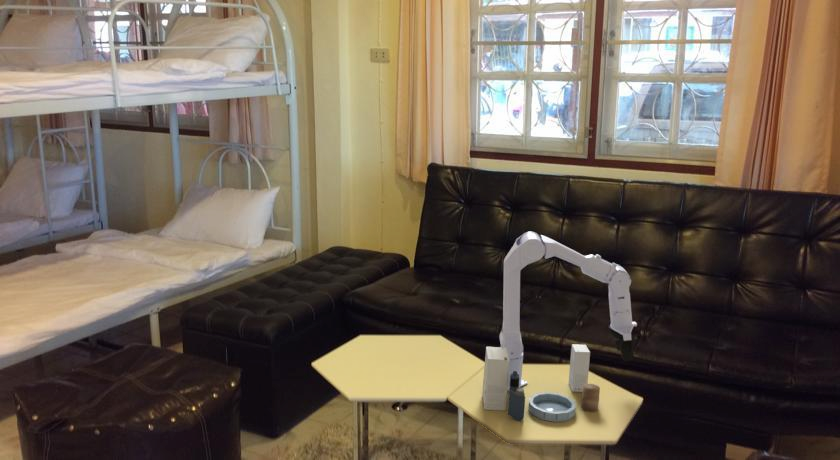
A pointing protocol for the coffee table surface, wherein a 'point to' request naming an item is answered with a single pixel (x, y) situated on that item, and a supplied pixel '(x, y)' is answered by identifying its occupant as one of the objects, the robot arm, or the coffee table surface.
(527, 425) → the coffee table surface
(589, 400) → the brown cylinder
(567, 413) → the round tray
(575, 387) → the skincare box
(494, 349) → the skincare box
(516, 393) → the vaping device
